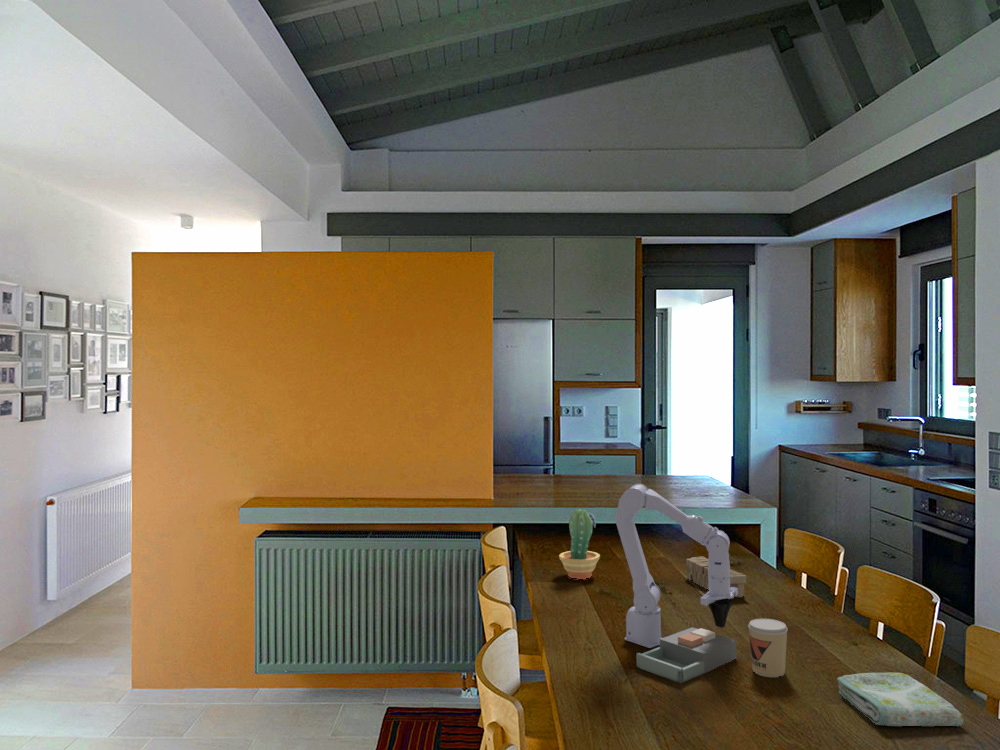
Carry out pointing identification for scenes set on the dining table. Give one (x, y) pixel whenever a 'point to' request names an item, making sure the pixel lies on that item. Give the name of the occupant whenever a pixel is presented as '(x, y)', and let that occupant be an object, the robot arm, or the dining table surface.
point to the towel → (897, 700)
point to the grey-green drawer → (668, 666)
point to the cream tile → (704, 634)
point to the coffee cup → (768, 647)
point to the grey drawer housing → (699, 650)
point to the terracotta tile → (690, 639)
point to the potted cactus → (580, 546)
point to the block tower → (699, 574)
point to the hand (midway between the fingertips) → (720, 626)
